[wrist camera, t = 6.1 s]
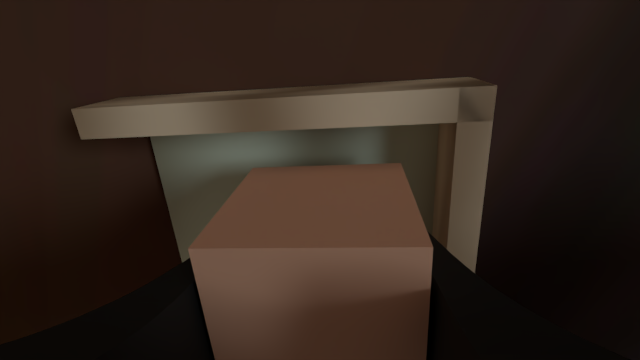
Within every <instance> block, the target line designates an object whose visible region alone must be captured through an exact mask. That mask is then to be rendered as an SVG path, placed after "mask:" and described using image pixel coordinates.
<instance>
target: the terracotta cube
mask: <svg viewBox="0 0 640 360" xmlns="http://www.w3.org/2000/svg"><path fill="white" fill-rule="evenodd" d="M188 251H189V256H190V260H191V264H192V268H193V272H194V276H195V280H196V284H197V288H198V292H199V297H200V301H201V305H202V309H203V313H204V317H205V321H206V325H207V329H208V333H209V338H210V342H211V346H212V350H213V354H214V358H215V360H426V354H427V339H428V323H429V307H430V291H431V275H432V260H433V245H432V243H431V240H430V237H429V235H428V232H427V230H426V227H425V224H424V222H423V219H422V216H421V214H420V211H419V209H418V206H417V203H416V201H415V198H414V196H413V193H412V190H411V188H410V185H409V183H408V180H407V177H406V175H405V172H404V169H403V167H402V164H401V163H384V164H354V165H323V166H293V167H262V168H252V170H251V171H250V172H249V173H248V175H247V176H246V177H245V178H244V180H243V181H242V182H241V183H240V184H239V186H238V187H237V188H236V189H235V191H234V192H233V193H232V194H231V196H230V197H229V198H228V199H227V201H226V202H225V203H224V204H223V206H222V207H221V208H220V209H219V211H218V212H217V213H216V214H215V216H214V217H213V218H212V219H211V220H210V222H209V223H208V224H207V225H206V227H205V228H204V229H203V230H202V232H201V233H200V234H199V235H198V237H197V238H196V239H195V240H194V242H193V243H192V244H191V245H190V247H189V248H188Z"/></svg>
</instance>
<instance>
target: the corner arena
mask: <svg viewBox="0 0 640 360" xmlns="http://www.w3.org/2000/svg"><path fill="white" fill-rule="evenodd" d="M496 91H497V85H494V84H491V83H488V82H484V81H481V80H478V79H475V78H471V77H459V78H442V79H425V80H408V81H391V82H374V83H357V84H340V85H323V86H306V87H289V88H272V89H255V90H238V91H221V92H204V93H187V94H170V95H153V96H136V97H120V98H116V99H112V100H107V101H103V102H99V103H95V104H91V105H86V106H82V107H78V108H74V109H71V111H72V114H73V117H74V120H75V123H76V126H77V129H78V132H79V135H80V138H81V139H103V138H125V137H147V136H150V139H151V143H152V147H153V151H154V155H155V158H156V162H157V166H158V170H159V174H160V178H161V182H162V186H163V190H164V194H165V198H166V201H167V205H168V209H169V213H170V217H171V221H172V225H173V229H174V233H175V237H176V241H177V245H178V248H179V252H180V256H181V260H182V262H184V261H186V260H187V259H188V258H190V256H189V251H188V248H189V247H190V245H191V244H192V243H193V242H194V240H195V239H196V238H197V237H198V235H199V234H200V233H201V232H202V230H203V229H204V228H205V227H206V225H207V224H208V223H209V222H210V220H211V219H212V218H213V217H214V216H215V214H216V213H217V212H218V211H219V209H220V208H221V207H222V206H223V204H224V203H225V202H226V201H227V199H228V198H229V197H230V196H231V194H232V193H233V192H234V191H235V189H236V188H237V187H238V186H239V184H240V183H241V182H242V181H243V180H244V178H245V177H246V176H247V175H248V173H249V172H250V171H251V170H252V168H262V167H293V166H323V165H354V164H384V163H401V164H402V167H403V169H404V172H405V175H406V177H407V180H408V183H409V185H410V188H411V190H412V193H413V196H414V198H415V201H416V203H417V206H418V209H419V211H420V214H421V216H422V219H423V222H424V224H425V227H426V230H427V231H428V232H429V233H430V234H431V235H432V236H433V237H434V238H435V239H436V240H437V241H438V242H439V243H441V244H442V245H443V246H444V247H445V248H446V249H447V250H448V251H449V252H450V253H451V254H452V255H454V256H455V257H456V258H457V259H458V260H459V261H460V262H462V263H463V264H464V265H465V266H466V267H468V268H469V269H470V270H471V271H473V272H474V273H475V268H476V259H477V251H478V242H479V234H480V226H481V217H482V209H483V200H484V192H485V184H486V175H487V167H488V158H489V150H490V142H491V133H492V125H493V116H494V108H495V99H496Z"/></svg>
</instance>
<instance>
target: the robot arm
mask: <svg viewBox="0 0 640 360" xmlns="http://www.w3.org/2000/svg"><path fill="white" fill-rule="evenodd" d="M427 232H428V231H427ZM428 235H429V237H430V240H431V243H432V245H433V260H432V275H431V291H430V307H429V323H428V339H427V354H426V360H630V359H627V358H625V357H622V356H620V355H618V354H616V353H613V352H611V351H609V350H607V349H605V348H602V347H600V346H598V345H596V344H594V343H592V342H589V341H587V340H585V339H583V338H581V337H579V336H577V335H575V334H573V333H571V332H569V331H567V330H565V329H563V328H561V327H559V326H557V325H555V324H553V323H552V322H550V321H548V320H546V319H544V318H542V317H541V316H539V315H537V314H535V313H533V312H532V311H530V310H528V309H526V308H525V307H523V306H521V305H520V304H518V303H517V302H515V301H514V300H512V299H511V298H509V297H507V296H506V295H504V294H503V293H501V292H500V291H498V290H497V289H495V288H494V287H492V286H491V285H490V284H488V283H487V282H486V281H484V280H483V279H482V278H480V277H479V276H478V275H476V274H475V273H474V272H473V271H471V270H470V269H469V268H468V267H466V266H465V265H464V264H463V263H462V262H460V261H459V260H458V259H457V258H456V257H455V256H454V255H452V254H451V253H450V252H449V251H448V250H447V249H446V248H445V247H444V246H443V245H442V244H441V243H439V242H438V241H437V240H436V239H435V238H434V237H433V236H432V235H431V234H430V233H429V232H428ZM0 360H215V358H214V354H213V350H212V346H211V342H210V338H209V333H208V329H207V325H206V321H205V317H204V313H203V309H202V305H201V301H200V297H199V292H198V288H197V284H196V280H195V276H194V272H193V268H192V264H191V260H190V258H188V259H187V260H186V261H184V262H182V263H181V264H179V265H178V266H176V267H174V268H173V269H171V270H170V271H168V272H166V273H165V274H163V275H162V276H160V277H158V278H157V279H155V280H153V281H152V282H150V283H148V284H146V285H144V286H143V287H141V288H139V289H137V290H135V291H133V292H131V293H129V294H127V295H125V296H124V297H122V298H120V299H117V300H115V301H113V302H111V303H109V304H107V305H104V306H102V307H100V308H98V309H95V310H93V311H91V312H89V313H86V314H84V315H82V316H80V317H77V318H75V319H72V320H70V321H67V322H65V323H62V324H59V325H57V326H54V327H52V328H49V329H46V330H43V331H41V332H38V333H35V334H32V335H29V336H26V337H23V338H21V339H18V340H15V341H11V342H8V343H5V344H2V345H0Z"/></svg>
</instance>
